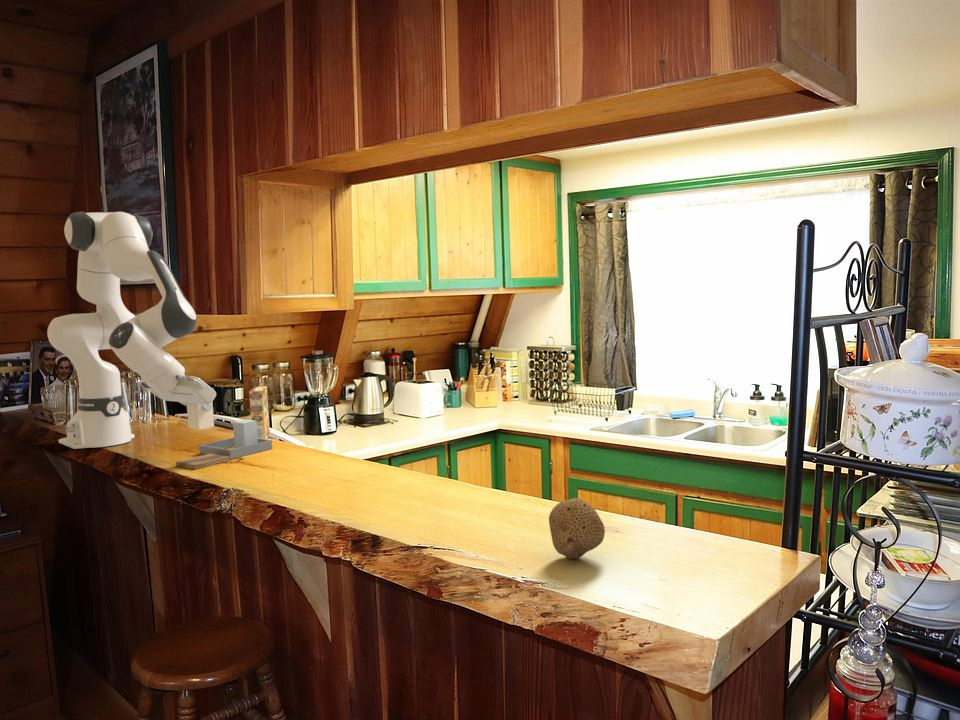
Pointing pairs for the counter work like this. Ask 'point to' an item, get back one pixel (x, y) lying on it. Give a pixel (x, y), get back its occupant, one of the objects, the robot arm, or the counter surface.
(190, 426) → the cream carton
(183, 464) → the walnut board
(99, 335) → the robot arm
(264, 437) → the candy box
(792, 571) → the counter surface
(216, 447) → the grey square frame
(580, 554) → the natural sponge
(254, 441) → the tall white block
